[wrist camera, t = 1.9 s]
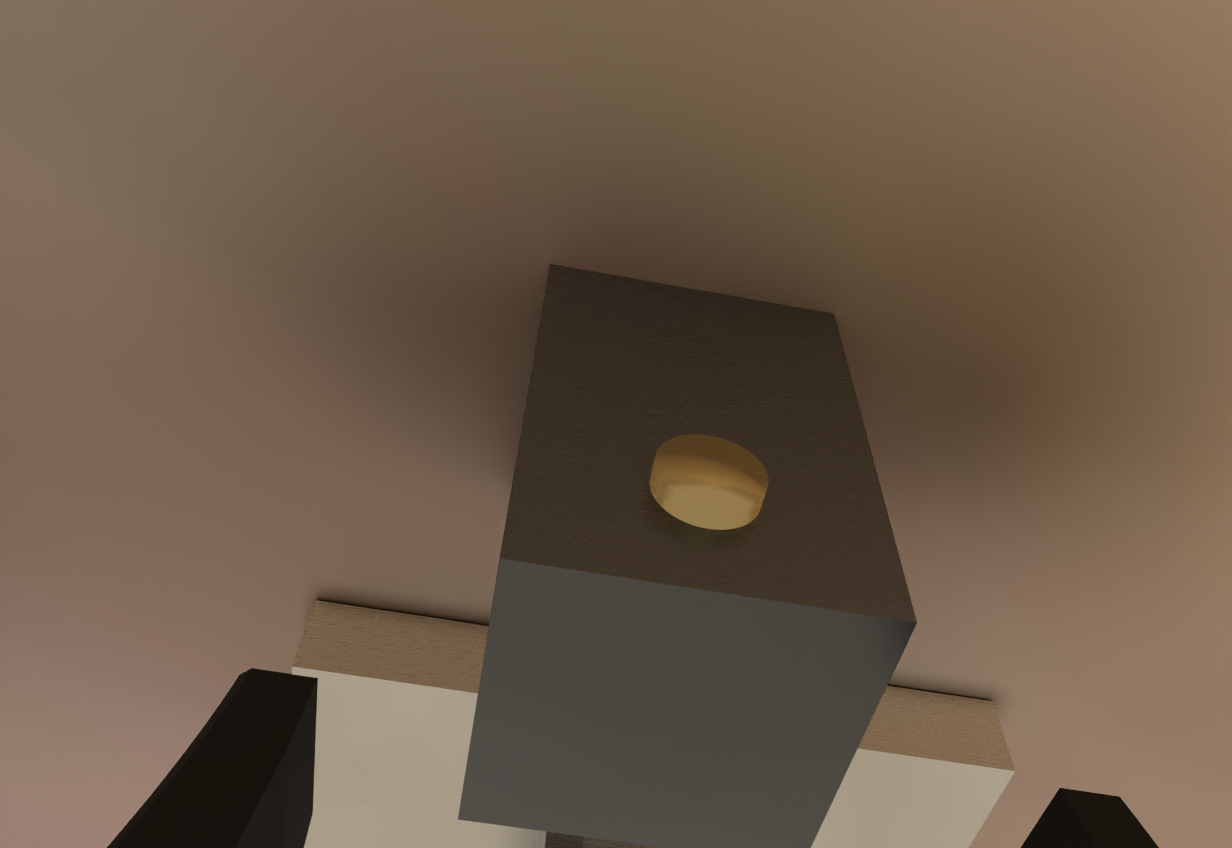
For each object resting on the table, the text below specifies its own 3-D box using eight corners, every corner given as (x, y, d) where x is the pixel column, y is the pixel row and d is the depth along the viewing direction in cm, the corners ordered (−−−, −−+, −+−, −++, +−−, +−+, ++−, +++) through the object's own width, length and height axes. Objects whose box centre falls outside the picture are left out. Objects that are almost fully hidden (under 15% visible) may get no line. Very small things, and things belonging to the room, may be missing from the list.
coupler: (511, 504, 18) (454, 835, 13) (553, 244, 15) (503, 534, 10) (756, 542, 18) (795, 881, 13) (840, 294, 15) (927, 600, 10)
